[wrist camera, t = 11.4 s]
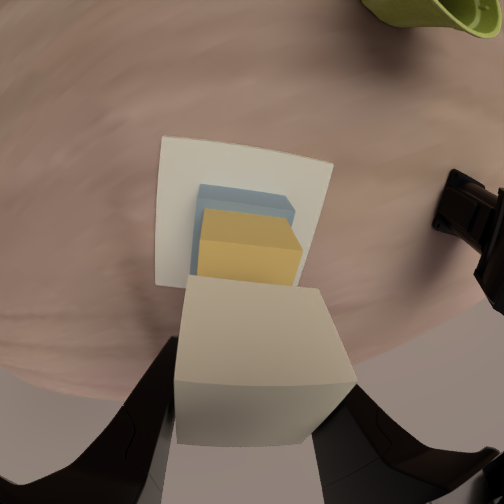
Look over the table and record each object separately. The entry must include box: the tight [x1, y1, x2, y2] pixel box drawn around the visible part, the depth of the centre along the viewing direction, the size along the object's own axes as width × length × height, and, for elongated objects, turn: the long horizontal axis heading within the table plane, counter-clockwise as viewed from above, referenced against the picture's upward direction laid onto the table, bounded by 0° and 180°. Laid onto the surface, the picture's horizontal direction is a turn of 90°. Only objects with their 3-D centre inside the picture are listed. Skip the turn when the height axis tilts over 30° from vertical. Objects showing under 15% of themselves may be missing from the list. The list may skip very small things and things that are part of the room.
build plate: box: [155, 136, 334, 288], centre depth 20 cm, size 12×12×1 cm
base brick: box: [190, 184, 296, 276], centre depth 19 cm, size 6×6×3 cm
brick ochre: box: [197, 208, 303, 286], centre depth 16 cm, size 5×5×4 cm
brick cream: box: [174, 275, 358, 447], centre depth 8 cm, size 4×4×4 cm
